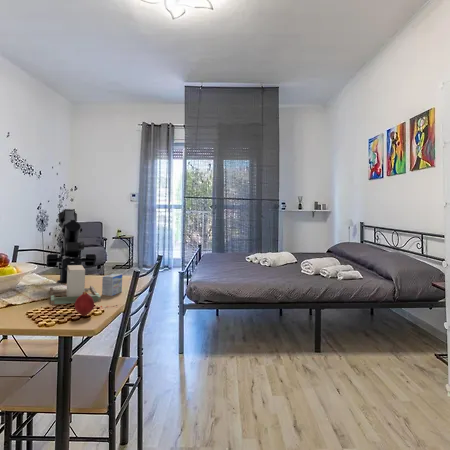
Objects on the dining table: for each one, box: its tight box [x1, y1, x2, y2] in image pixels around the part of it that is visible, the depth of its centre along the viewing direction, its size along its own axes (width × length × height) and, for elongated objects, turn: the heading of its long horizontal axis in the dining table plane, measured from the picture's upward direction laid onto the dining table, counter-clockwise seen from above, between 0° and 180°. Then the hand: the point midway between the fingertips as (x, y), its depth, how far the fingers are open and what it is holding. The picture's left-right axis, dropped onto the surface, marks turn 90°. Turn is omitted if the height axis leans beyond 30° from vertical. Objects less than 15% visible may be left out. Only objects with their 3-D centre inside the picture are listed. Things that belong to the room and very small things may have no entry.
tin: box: [66, 264, 86, 297], centre depth 129 cm, size 12×5×11 cm, turn 28°
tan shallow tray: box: [49, 285, 102, 305], centre depth 132 cm, size 23×16×4 cm
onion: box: [74, 291, 95, 317], centre depth 112 cm, size 6×6×8 cm
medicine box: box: [101, 273, 123, 297], centre depth 139 cm, size 8×4×9 cm, turn 168°
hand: (72, 277), depth 141 cm, fingers closed
